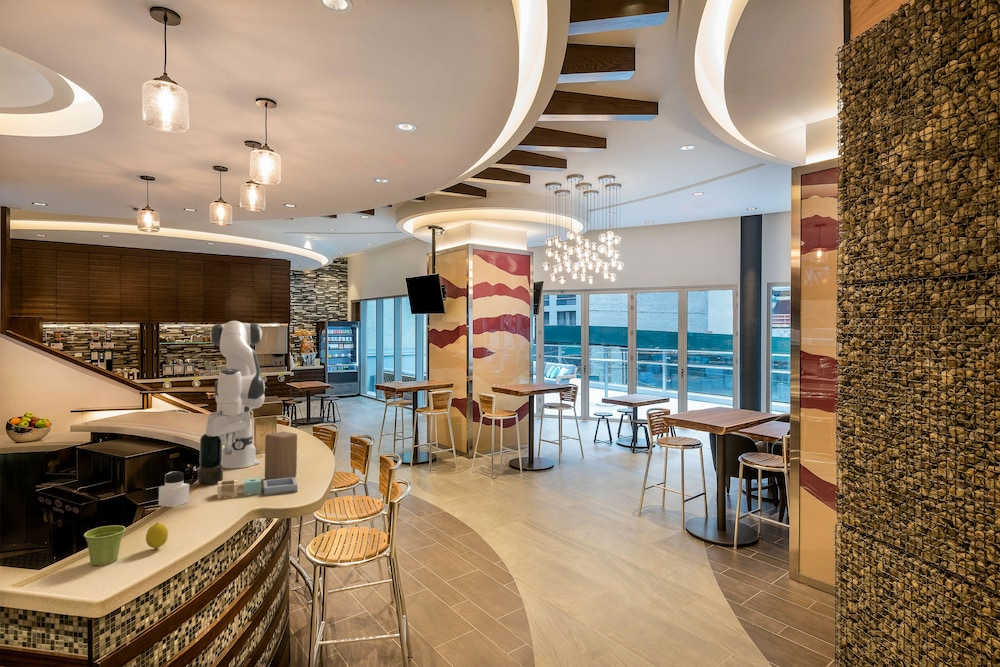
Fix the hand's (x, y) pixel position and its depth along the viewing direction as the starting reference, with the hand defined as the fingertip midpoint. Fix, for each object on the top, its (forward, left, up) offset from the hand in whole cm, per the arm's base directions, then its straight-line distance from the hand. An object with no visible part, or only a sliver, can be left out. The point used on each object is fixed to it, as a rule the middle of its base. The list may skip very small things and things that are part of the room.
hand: (228, 443), depth 209 cm
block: (-19, +21, -21) cm, 35 cm away
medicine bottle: (+4, -18, -21) cm, 28 cm away
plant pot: (+54, -30, -21) cm, 65 cm away
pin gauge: (0, 0, -4) cm, 4 cm away
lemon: (+50, -18, -21) cm, 57 cm away
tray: (0, +20, -21) cm, 28 cm away
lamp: (-22, -7, -21) cm, 31 cm away
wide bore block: (0, 0, -21) cm, 21 cm away
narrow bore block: (0, +9, -21) cm, 23 cm away
